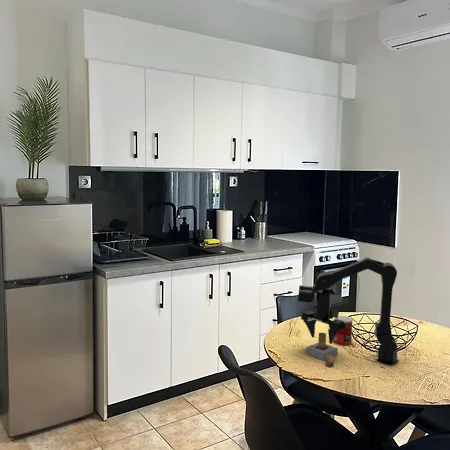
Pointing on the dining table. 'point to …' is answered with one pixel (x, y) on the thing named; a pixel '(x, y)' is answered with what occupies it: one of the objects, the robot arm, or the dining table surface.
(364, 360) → the dining table surface
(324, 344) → the long pin
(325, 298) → the robot arm
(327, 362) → the short pin
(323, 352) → the socket block
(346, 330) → the canned food
